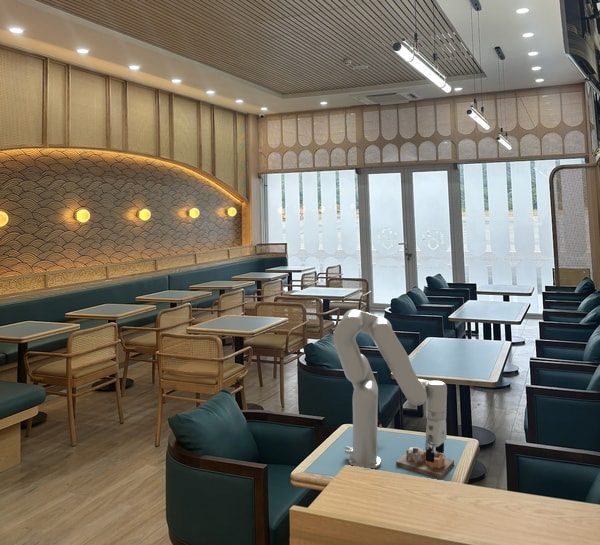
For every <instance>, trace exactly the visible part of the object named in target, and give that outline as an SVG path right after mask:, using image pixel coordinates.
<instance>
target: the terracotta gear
mask: <svg viewBox="0 0 600 545" xmlns="http://www.w3.org/2000/svg"><path fill="white" fill-rule="evenodd" d="M434 452H435V453H437V458H435V457H434V463H432V462H429V461H426V465H429V466H430V467H432V468H433V467H437V468H440V467H442V466H445V458H446V455H445V454H444V453H440V452H436V451H434Z"/></svg>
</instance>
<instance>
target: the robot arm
mask: <svg viewBox="0 0 600 545" xmlns="http://www.w3.org/2000/svg"><path fill="white" fill-rule="evenodd" d="M334 328H335V329H334V331H333V336H332V339H333V344H334V348H335V350H336V352H337V356H338V359H339V361H340V364H341V367H342V369H343V372H344V375H345V378H346V379H347V380H348V381H349V382H351V384H352V387H353V393H352V447H351V446H348V445H346V446H344V447H345V448H344V454H347V455H349V458H348V463H349V465H350V466H352V465H353V466H359V467H364V468H373V469H372V470H374V469H377V468H378V467H380V466H381V464H382V459H381V457H379V456H378V424H377V420H378V411H379V410H378V406H379V387H378V383H377V381H376V380H377V379H376V377H375V375H374V373H373V370H372V368H371V365H370V362H369V360H368V358H367V357H366V356H365V355H364V354H362V353H361V350H360V347H359V345H358V343H357V340H356V338H357V335H358V334H360V333H361V334H365V335H369V336H370V338H371V339H372V341H373V343H374V344H375V346H376V348H377V349H378V351H379V353H380V354H381V356H382V358H383V359H384V360H385V363H386V364H387V367H388V368H389V370H390V373H391V374H392V375H393V377H394V379H395V381H396V383H397V384H398V387H399V388H400V390H401V392H402V393H403V394H404V396H405V398H406V399H407V401H408V402H409V403H410V404H412V405H413V406H421V405H424V404H425V418H426V427H425V428H426V430H425V443H424V445H425V446H424V447H425V451H426V461H429V462H432V463H434V456H435V452H440V453H441V454H444V452H445V441H446V440H447V403H448V402H447V401H448V400H447V398H448V397H447V396H448V386H447V384H446V383H445V382H443V381H441V380H427V379H422V378H418V376H417V374H416V372H415V370H414V368H413V365H412V362H411V361H410V358H409V356H408V354H407V351H406V350H405V348H404V346H403V345H402V343H401V342H400V340H399V338H398V337H397V334H396V333H395V331H394V330H393V326H392V323H391V322H390V320H389V319H387V318H385V317H382V316H379V315H376V314H372V313H369V312H367V311H363V310H360V309H354V308H352V309H349V310H347V311H346V312H345V313H344V314H343V316H342V318H341V319H340V321H339V322H338V323H337V325H336V326H335V327H334ZM353 466H352V467H353Z"/></svg>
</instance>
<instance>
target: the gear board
mask: <svg viewBox="0 0 600 545" xmlns="http://www.w3.org/2000/svg"><path fill="white" fill-rule="evenodd" d="M434 457H435V458H437V453H435V456H434ZM453 464H454V465H455V460H454V459H451V458H447V457H445V466H442V467H440V468H437V467H433V468H432V467H430V466H429V465H426V450H425V449H424V448H423V447H418V446H414V447H411V446H409V447H408V448H407V449H406V452H405V453H404V454H403V455H402V456H401V457H399V458H398V459H397V460H396V461H395V465H396V466H397V467H401V468H405V469H407V470H411V471H414V472H417V473H422V474H425V475H427V476H431V475H432V477H435V478H438V479H442V478H443V477H444V475H445V474H446V473H447V472H448V471H449V470H450V469H451V468H452V467H453V466H454V465H453ZM452 465H453V466H452ZM451 466H452V467H451Z"/></svg>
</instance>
